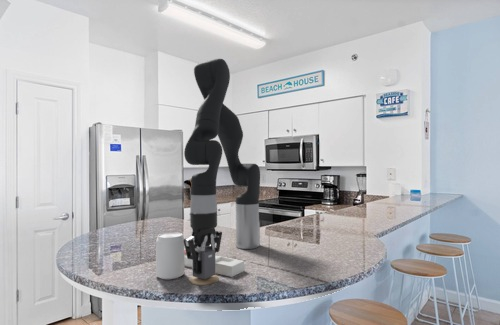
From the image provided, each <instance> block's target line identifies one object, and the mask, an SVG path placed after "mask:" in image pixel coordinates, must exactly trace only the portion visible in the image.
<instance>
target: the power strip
mask: <svg viewBox="0 0 500 325" xmlns="http://www.w3.org/2000/svg"><path fill="white" fill-rule="evenodd" d="M197 248H198V249H200V248H201V247H197ZM191 255H192V254H191ZM184 267H188V268H191V269H193V260H192V259H188V258H187V254H186V250H185V249H184ZM244 271H245V260H241V259H236V258H230V257H226V256H221V255H216V254H215V274H216V275H217V274H219V275H222V276H226V277H231V278H232V277H235V276H237V275H238V274H241V273H243V272H244Z"/></svg>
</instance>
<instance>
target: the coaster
mask: <svg viewBox="0 0 500 325" xmlns="http://www.w3.org/2000/svg"><path fill="white" fill-rule="evenodd" d="M218 281H219V276H218V275H217V274H215V275H213V276H211V277H209V278H207V279H201V278H198V277H194V276H193V275H192V276H190V278H189V283H190V284H192V285H196V286H209V285H213V284H215V283H217V282H218Z"/></svg>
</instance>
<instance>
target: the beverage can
mask: <svg viewBox="0 0 500 325" xmlns="http://www.w3.org/2000/svg"><path fill="white" fill-rule="evenodd" d="M184 239H185V237H184V235H183V233H182V232H164V233H160V234H158V235H157V238H156V240H155V247H156V248H155V276H156V277H157V278H160V279H162V280H175V279H178V278H180V277H183V275H184V274H185V266H184V250H185V245H184Z"/></svg>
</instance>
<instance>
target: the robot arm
mask: <svg viewBox="0 0 500 325" xmlns="http://www.w3.org/2000/svg"><path fill="white" fill-rule="evenodd" d="M230 73H231V72H230V69H229V66H228V63H227V61H226V60H224V59H223V58H214V59H210V60H207V61H203V62H200V63H199V62H198V63H196V64H195V65H194V68H193V75H194V78H195V81H196V84H197V86H198V89H199V91H200V93H201V95H202V97H203V102H202V103H201V104H200V106H199V107H198V109H197V113H196V118H195V125H194V128H193V131H192V132H191V135H190V136H189V138H188V140H187V142H186V144H185V148H184V153H183V154H184V159H185V161H186V162H187V163H188V164H190V165H192V166H207V167H208V168H207V169H206V171H203V172H199V173H194V174H193V175H192V176H191V179H190V183H191V184H190V193H191V195H190V203H189V205H190V206H189V207H190V210H189V212H190V213H189V214H190V215H189V216H190V218H189V219H190V227H191V230H192V232H191V235H190V237H188V238H185V237H184V250H186V254H187V258H188V259H192V260H193V268H192V272H193V271H194V273H195V274H201V273H202V261H201V258H202V253H203V252H204V250H205V249H211V250H212V249H213V250H215V254H216V253H218V252H219V251H220V249H221V242H222V237H223V232H222V231H221V230H220V231H219V230H216V229H215V228H216V227H217V226H218V199H217V178H218V177H217V176H218V171H219V167H220V164H221V160H222V157H223V153H224V156H225V159H226V162H227V166H228V170H229V174H230V178H231V180H232V182H233V184H234V185H235V186H237V187H247V189H246V191H245V192H244V193H242V194H239V195H237V196H236V197H235V248H238V249H241V250H242V249H243V250H251V249H257V248H259V247H260V245H261V240H260V238H261V223H260V215H259V214H260V212H259V211H260V210H259V209H260V204H259V200H260V191H261V190H260V189H261V188H260V187H261V170H260V166H259V164H257V163H242V162H241V160H240V157H239V151H240V148H241V145H242V143H243V138H244V131H243V128H242V125H241V122H240V119H239V117H238V115H236V114H235V112H234V111H233V110H231V109H230V108H229V107H227V106H226V105H225V104H224V100H225V98H226V95H227V92H228V88H229V84H230V79H231V78H230V77H231V74H230ZM217 137H218V139H219V141H220V142H219V141H218V140H215V138H217ZM213 139H214V140H213ZM198 247H201V248H200V249H198ZM197 252H198V256H196V255H197ZM191 254H192V255H191Z"/></svg>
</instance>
